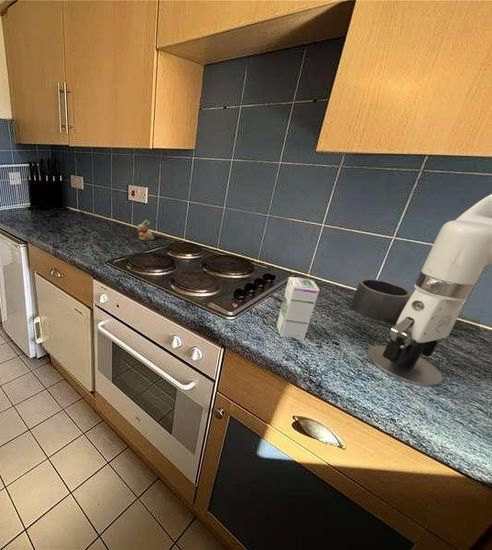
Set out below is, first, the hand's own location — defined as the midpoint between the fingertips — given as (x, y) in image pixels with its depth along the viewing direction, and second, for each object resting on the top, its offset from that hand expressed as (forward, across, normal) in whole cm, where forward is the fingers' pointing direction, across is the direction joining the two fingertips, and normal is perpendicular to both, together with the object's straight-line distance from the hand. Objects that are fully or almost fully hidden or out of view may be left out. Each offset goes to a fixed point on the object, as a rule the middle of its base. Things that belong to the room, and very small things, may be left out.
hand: (406, 356), depth 65 cm
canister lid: (+2, 0, 0) cm, 3 cm away
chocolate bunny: (+3, -20, +103) cm, 105 cm away
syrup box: (+3, -14, +17) cm, 23 cm away
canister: (+3, +19, +19) cm, 27 cm away
